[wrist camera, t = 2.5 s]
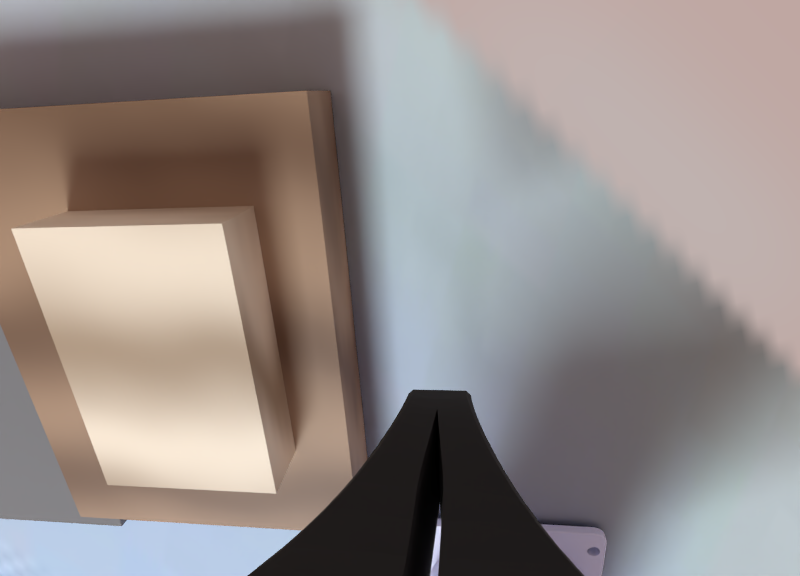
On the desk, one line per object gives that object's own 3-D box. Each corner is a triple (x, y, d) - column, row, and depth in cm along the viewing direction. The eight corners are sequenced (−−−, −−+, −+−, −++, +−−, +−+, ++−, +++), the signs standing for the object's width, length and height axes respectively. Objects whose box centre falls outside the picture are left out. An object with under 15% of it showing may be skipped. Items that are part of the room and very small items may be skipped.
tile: (295, 450, 17) (276, 493, 15) (143, 444, 18) (107, 485, 16) (253, 205, 14) (222, 223, 12) (67, 211, 14) (11, 228, 13)
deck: (370, 484, 21) (359, 533, 18) (119, 472, 22) (80, 516, 20) (330, 90, 15) (306, 90, 12) (-11, 110, 16) (-88, 114, 14)
